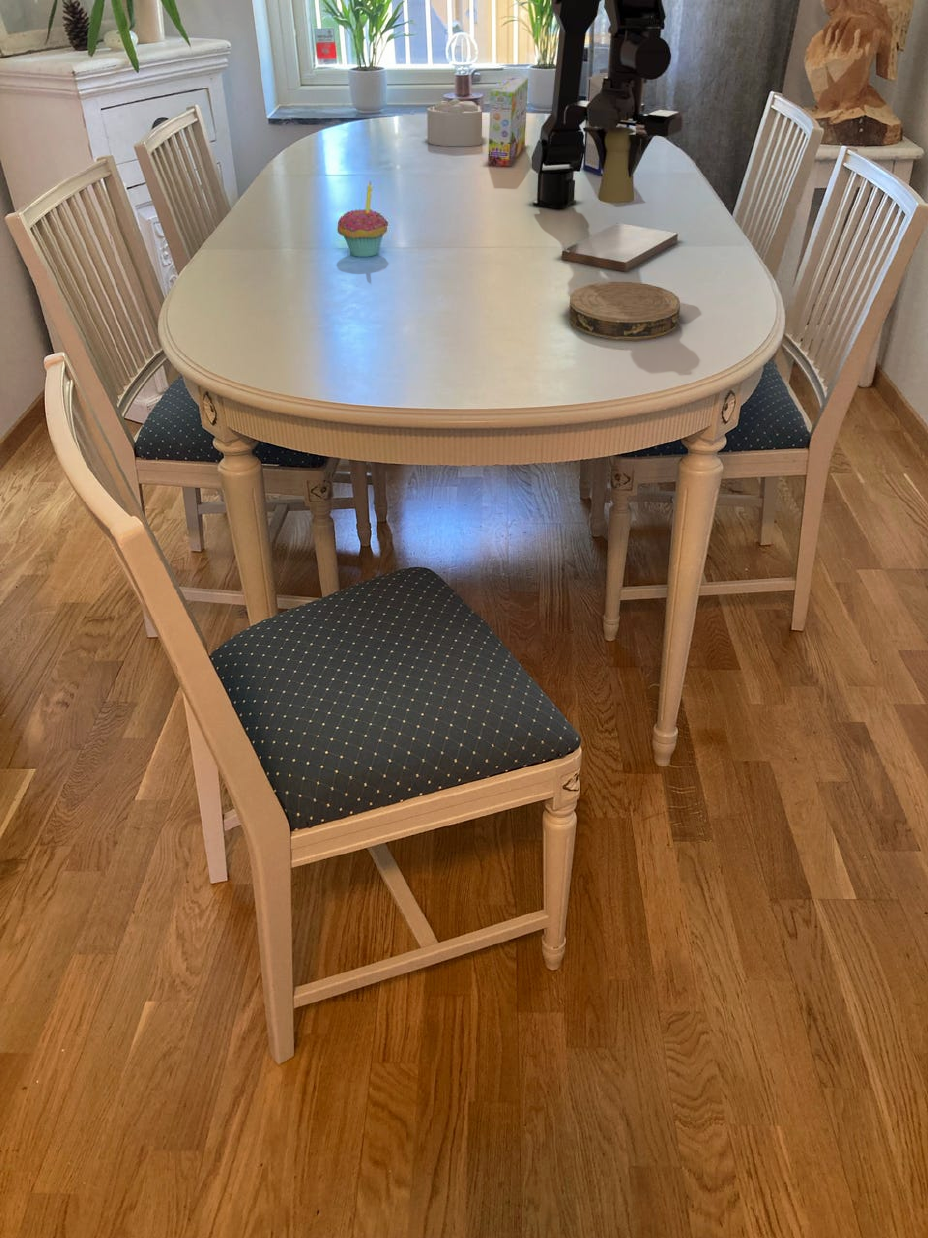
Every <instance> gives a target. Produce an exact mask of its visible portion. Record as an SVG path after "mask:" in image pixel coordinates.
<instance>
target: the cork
mask: <svg viewBox="0 0 928 1238" xmlns="http://www.w3.org/2000/svg"><path fill="white" fill-rule="evenodd" d="M635 132H636V130H634V129H633V128H631V127H629V128H628V127H616V128H614V129H610V130H608V131H607V133H606V135H605V146H606V148H607V154H606V160H605V165H604V170H603V175H601V181H600V186H599V191H598V196H597V199H598V201H600V202H602V203H605V204H614V205H615V204H617V205H618V204H622V205H623V204H628V203H632V202H634V200H635V189H634V188H635V187H634V175H633V176H632V177H629V173H628V163H629V155H630V147H631V142H630V139H629V135H630V134H632V133H635Z"/></svg>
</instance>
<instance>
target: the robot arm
mask: <svg viewBox="0 0 928 1238" xmlns="http://www.w3.org/2000/svg"><path fill="white" fill-rule="evenodd" d="M600 2H602V0H551V10H552V13H553V15H554V17H555V20H556V22H557V24H558V28H559V29H558V40H557V49H556V60H555V70H554V71H555V72H554V82H553V91H552V101H551V102H552V103H551V113H550V114H549V115H548V117H547V118H546V120H545V122H543V124H542V126H541V129H540V135H539V139H538V140H537V142H536V145H535V146H534V147H535V148H534V150H533V153H532V155H531V158H530V160H531V170H532V171H534V172H535V173H536V174H537V188H536V189H537V191H536V193H537V194H536V200H533V201H532V205H533V206H540V207H544V208H551V209H557V210H562V209H564V208H566V207H569V206H571V205H573V204H576V203H577V199H575V193H576V179H574V174H575V173H576V172H577V173H580V172H581V169H582V167H583V160H584V150H585V145H584V144H585V132H587V133H589V135H590V136H591V137H592V138H593V140H594V143H595V145H596V148H597V152H598V156H599V160H600V163H601V167H602V171H603V170H604V165H605V160H606V154H607V148H606V146H605V135H606V133H607V131H608V130H610V129H614V128H616V127H617V125H618V124H623V125H630V126H629V127H635V133H632V134H630V135H629V139H630V142H631V147H630V155H629V163H628V173H629V177H632V176H633V177H634V174H635V172H636V170H637V169H638V166H639V164H640V162H641V160H642V158H643V156H644V154H645V152H646V150H647V149H648V146H649V145H650V143H651V142H652V140H653V138H654V137H662V138H663V137H670V136H672V135H675V134H677V133H679V132H682V128H683V117H682V115H681V113H680V111H673V110H664V109H658V110H655V111H652V112H650V113H643V112H645V107H646V104H645V103H642V102H643V101H642V100H643V91H644V89H643V88H644V85H645V84H647V83H648V81H654V80H656V79H657V80H658V79H659V78H661V77H662V76H663V75H664V74H665V73H666V72H667V70H668V69H669V67H670V64H671V59H672V52H671V47H670V45H669V43H668V42H667V40H665V39H664V38H662V37H661V35H662V30H665V27H666V25H665V21H666V18H667V16H666V11H665V8H664V4H663V0H604V1H603V9H604V10H605V12H606V15H607V18H608V21H609V24H610V25H609V27H608V29H607V32H608V34H610V36H609V47H608V48H609V49H608V63H607V65H608V66H607V68H608V76H607V77H605V78H603V82H602V89H601V92H600V93H598V94H597V95H596V96H595V97H594V98H593V99H592V100H591V101H587V100H579V98H580V88H581V80H582V71H583V62H584V54H585V46H586V45H585V44H586V37H587V32H588V30H589V29H590V28H591V26H592V24H593V23H594V22H595V20H596V18H597V17H598V14H599V9H600ZM584 122H585V123H584ZM583 123H584V126H585V127H581V125H582V124H583Z"/></svg>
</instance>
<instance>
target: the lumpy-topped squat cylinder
mask: <svg viewBox="0 0 928 1238" xmlns="http://www.w3.org/2000/svg"><path fill="white" fill-rule="evenodd" d="M426 113H427V114H426V115H427V119H426V120H427V121H426V123H427V143H428V144H431V145H435V146H442V147H475V146H481V145H483V110H482V107H481V106H480V105H477V103H476V102H474V101H472V100H471V101H470V100H464V101H461V100H460V99H457V98H453V99H452V100H449V101H446V100H441V101H438V102H437V103H436V104H435V105H434V106H430V107H429V108H427V109H426Z"/></svg>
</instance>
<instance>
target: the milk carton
mask: <svg viewBox="0 0 928 1238" xmlns="http://www.w3.org/2000/svg"><path fill="white" fill-rule="evenodd" d="M607 76H608V67H605V68H601V69H599V73H598V74H596V75H591V76H590V77H588V80H587V81H588V82H587V97H586V101H591V100H592V99H593V98H594V97H595V96H596V95H597V94H598V93H600V92H601V89H602V82H603V78H605V77H607ZM617 127H628V128H630V127H631V126H630V125H623V124H618V125H617ZM584 145H585V150H584V155H583V161H582V169H583V170H584V171H586V172H589V173H592V174H595V175H597V176H602V175H603V171H602V167H601V163H600V160H599V156H598V152H597V148H596V145H595V143H594V140H593V138H592V137H591V136H590V135H589V133H587V132H584Z"/></svg>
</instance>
